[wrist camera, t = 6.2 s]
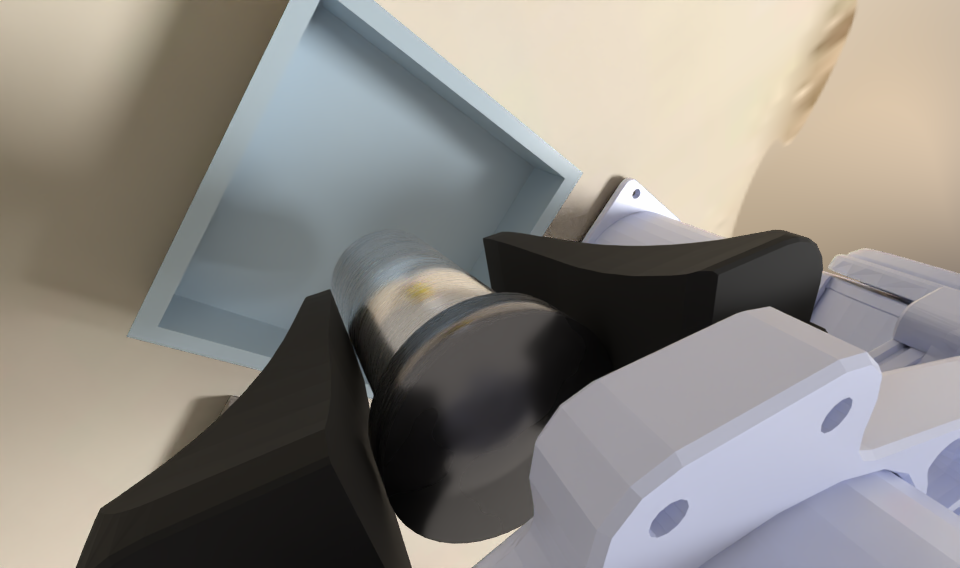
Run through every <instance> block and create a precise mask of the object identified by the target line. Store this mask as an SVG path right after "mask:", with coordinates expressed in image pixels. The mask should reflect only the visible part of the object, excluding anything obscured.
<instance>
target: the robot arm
mask: <svg viewBox="0 0 960 568" xmlns="http://www.w3.org/2000/svg"><path fill="white" fill-rule="evenodd" d="M634 190H635V194H634V195H633V196H632V194H633V191H634ZM483 243H484V249H485V255H486V260H487V266H488V272H489V278H490V284H491V289H492V290H494V291H495V292H496V293H501V292H510V293H521V294H526V295H530V296H533V297H536V298H539V299H541V300H543V301H545V302H547V303H548V304H550V305H552V306H553V307H555V308H557V309H558V310H560V311H561V312H563V313H565V314H566V315H568V316H570V317H571V318H573V319H574V320H576V321H578V322H579V323H581V324H583V325H584V326H586V327H587V328H588V329H590V330H591V331H592V332H593V333H594V334H595V335H596V336H597V337H598V338H599V340H600V341H601V342H602V343H603V345H604V347H605V349H606V350H607V352H608V354H609V357H610V360H611V363H612V366H613V372H611V373H609V374H607V375H605V376H603V377H601V378H599V379H597V380H594V381H593V382H591V383H590V384H588V385H587V386H586V387H584V388H583V389H581V390H580V391H579V392H577V393H576V394H574V395H573V396H572V397H570V398H569V399H568V400H566V401H565V402H563V403H562V404H561V405H560V406H559V407H558V409H557V410H556V411H555V413H554V414H553V416H552V417H551V419H550V420H549V421H548V423H547V424H546V426H545V427H544V429H543V430H542V431H541V433H540V434H539V436H538V437H537V440H536V442H535V447H534V452H533V458H532V464H531V470H530V475H529V479H530V486H531V492H532V498H533V504H534V517H532V518H531V519H530V520H529V521H527V522H526V523H525V524H524V525H523V526H521V527H520V528H519V529H518V530H517V531H515V532H514V533H513V534H512V535H511V536H509V537H508V538H507V539H506V540H505V541H503V542H502V543H501V544H500V545H499V546H497V547H496V548H495V549H494V550H493V551H491V552H490V553H489V554H488V555H487V556H485V557H484V558H483V559H482V560H481V561H479V562H478V563H477V564H476V565H474V566H473V567H472V568H960V274H959V273H955V272H952V271H949V270H945V269H942V268H938V267H935V266H931V265H928V264H925V263H921V262H918V261H914V260H911V259H907V258H903V257H900V256H896V255H893V254H889V253H885V252H881V251H877V250H873V249H868V248H862V249H859V250H856V251H853V252H850V253H848V255H844V254H839V255H836V256H835V257H834V258H833V260H832V261H831V263H830V265H829V266H828V269H830V270H832V271H835V272H837V273H840V274H842V275H845V276H847V277H850V278H853V279H856V280H859V281H860V282H861V283H859V282H856V281H853V280H851V279H848V278H844V277H841V276H838V275H834V274H831V273H828V272H824V271H823V264H822V256H821V253H820V251H819V248H818V246H817V244H816V243H814V242H813V241H812V240H810V239H809V238H807V237H803V236H800V235H797V234H793V233H790V232H787V231H784V230H771V231H766V232H760V233H755V234H750V235H744V236H738V237H732V238H725V237H722V236H719V235H716V234H714V233H711V232H708V231H705V230H703V229H700V228H697V227H694V226H692V225H689V224H686V223H683V222H681V221H680V220H679V219H678V218H677V217H676V216H675V215H674V214H673V213H672V212H670V211H669V210H668V209H667V208H666V207H665V206H664V205H663V204H662V203H660V202H659V201H658V200H657V199H656V198H655V197H654V196H653V195H652V194H651V193H649V192H648V191H647V190H646V189H645V188H644V187H643V186H642V185H641V184H640V183H638V182H637V181H636V180H634V179H631V178H626V179H624V180H623V181H622V182H621V183H620V184H619V186H618V188H617V189H616V191H615V192H614V194H613V195H612V197H611V198H610V200H609V201H608V203H607V204H606V206H605V207H604V209H603V210H602V212H601V213H600V215H599V216H598V218H597V219H596V221H595V222H594V224H593V225H592V227H591V228H590V230H589V231H588V233H587V234H586V236H585V237H584V239H583V240H582V242H574V241H567V240H560V239H554V238H548V237H542V236H536V235H530V234H524V233H517V232H500V233H497V234H494V235H491V236H488V237H485V238H483ZM862 283H863V284H862ZM865 284H866V285H865ZM369 414H370V408H369V402H368V397H367V391H366V386H365V381H364V378H363V375H362V372H361V369H360V366H359V363H358V360H357V356H356V353H355V351H354V348H353V346H352V343H351V341H350V338H349V335H348V333H347V330H346V328H345V325H344V323H343V320H342V318H341V315H340V313H339V310H338V307H337V305H336V302H335V300H334V297H333V295H332V292H331V290H330V289H328V290H325V291H322V292H319V293H316V294H313V295H310V296H307V297H306V298H305V299H304V301H303V303H302V305H301V307H300V309H299V311H298V313H297V315H296V317H295V319H294V321H293V323H292V325H291V327H290V329H289V331H288V332H287V334H286V336H285V338H284V340H283V341H282V343H281V344H280V346H279V347H278V349H277V350H276V352H275V354H274V355H273V357H272V358H271V360H270V361H269V363H268V364H267V365H266V367H265V368H264V369H263V370H262V372H261V373H260V374H259V376H258V377H257V378H256V379H255V380H254V381H253V383H252V384H251V385H250V386H249V387H248V389H247V390H246V391H245V392H244V393H243V394H242V395H241V396H240V397H239V398H238V399H237V400H236V401H235V402H234V403H233V404H232V405H231V406H230V407H229V408H228V409H227V410H226V411H225V412H224V413H223V414H222V415H221V416H220V417H219V418H218V419H217V420H216V421H215V422H214V423H213V424H212V425H211V426H209V427H208V428H207V429H206V430H205V431H204V432H203V433H201V434H200V435H199V436H198V437H197V438H196V439H194V440H193V441H192V442H191V443H190V444H188V445H187V446H186V447H185V448H183V449H182V450H181V451H180V452H178V453H177V454H176V455H175V456H174V457H172V458H171V459H170V460H168V461H167V462H166V463H164V464H163V465H162V466H160V467H159V468H158V469H156V470H155V471H153V472H152V473H151V474H149V475H148V476H146V477H145V478H144V479H142V480H141V481H139V482H138V483H137V484H135V485H134V486H132V487H131V488H129V489H128V490H127V491H125V492H124V493H122V494H121V495H120V496H118V497H117V498H115V499H114V500H112V501H111V502H109V503H108V504H106V505H105V506H103V507H102V508H100V510H99V512H98V515H97V517H96V519H95V521H94V524H93V526H92V529H91V531H90V533H89V536H88V538H87V540H86V543H85V545H84V548H83V551H82V553H81V556H80V558H79V561H78V563H77V566H76V568H412V567H411V564H410V560H409V557H408V554H407V551H406V548H405V544H404V541H403V538H402V535H401V531H400V528H399V525H398V522H397V518H396V515H395V512H394V510H393V508H392V507H391V505H390V503H389V500H388V497H387V494H386V491H385V488H384V486H383V483H382V480H381V477H380V474H379V471H378V468H377V465H376V462H375V460H374V457H373V454H372V451H371V447H370V441H369V428H368V420H369Z"/></svg>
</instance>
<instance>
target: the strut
mask: <svg viewBox="0 0 960 568" xmlns="http://www.w3.org/2000/svg"><path fill="white" fill-rule="evenodd" d="M331 290H332V295H333V297H334V300H335V302H336V305H337V307H338V310H339V313H340V315H341V318H342V320H343V323H344V325H345V328H346V330H347V333H348V335H349V338H350V341H351V343H352V345H353V348H354V350H355V352H356V355H357V357H358V359H359V362H360V364H361V366H362V369H363V371H364V374H365V376H366V378H367V381H368V383H369V385H370V388H371V390H372V392H373V395H374V396H373V399H372V403H371V407H370V414H369V420H368V428H369V441H370V447H371V451H372V454H373V457H374V460H375V462H376V465H377V468H378V471H379V474H380V477H381V480H382V483H383V486H384V488H385V491H386V494H387V497H388V500H389V503H390V505H391V507H392V508H393V510H394V512H395V513H396V515H397V517H398V518H399V519H400V520H401V521H402V522H403V523H404V524H405V525H406V526H407V527H408V528H410V529H411V530H412V531H414V532H415V533H417V534H419V535H421V536H423V537H425V538H427V539H431V540H435V541H438V542H445V543H471V542H478V541H483V540H486V539H490V538H494V537H497V536H499V535H502V534H505V533H508V532H510V531H512V530H514V529H516V528H518V527H520V526H522V525H524V524H525V523H526V522H527V521H529V520H530V519H531V518H532V517H534V504H533V498H532V492H531V486H530V479H529V475H530V470H531V464H532V458H533V452H534V447H535V442H536V440H537V437H538V436H539V434H540V433H541V431H542V430H543V429H544V427H545V426H546V424H547V423H548V421H549V420H550V419H551V417H552V416H553V414H554V413H555V411H556V410H557V409H558V407H559V406H560V405H561V404H562V403H563V402H565V401H566V400H568V399H569V398H570V397H572V396H573V395H574V394H576V393H577V392H579V391H580V390H581V389H583V388H584V387H586V386H587V385H588V384H590V383H591V382H593V381H594V380H597V379H599V378H601V377H603V376H605V375H607V374H609V373H611V372H613V366H612V363H611V360H610V357H609V354H608V352H607V350H606V349H605V347H604V345H603V343H602V342H601V341H600V340H599V338H598V337H597V336H596V335H595V334H594V333H593V332H592V331H591V330H590V329H588V328H587V327H586V326H584V325H583V324H581V323H579V322H578V321H576V320H574V319H573V318H571V317H570V316H568V315H566V314H565V313H563V312H561V311H560V310H558V309H557V308H555V307H553V306H552V305H550V304H548V303H547V302H545V301H543V300H541V299H539V298H536V297H533V296H530V295H526V294H521V293H510V292H501V293H496V292H495V291H494V290H492V289H491V288H489V287H488V286H486V285H485V284H484V283H482V282H481V281H479V280H478V279H477V278H475V277H474V276H472V275H471V274H469V273H468V272H467V271H465V270H464V269H462V268H461V267H460V266H458V265H457V264H455V263H454V262H452V261H451V260H450V259H448V258H447V257H445V256H444V255H443V254H441V253H440V252H438V251H437V250H435V249H434V248H433V247H431V246H430V245H428V244H427V243H426V242H424V241H423V240H421V239H420V238H418V237H417V236H415V235H413V234H411V233H408V232H405V231H401V230H394V229H385V230H379V231H375V232H371V233H369V234H366V235H364V236H362V237H360V238H359V239H357V240H356V241H354V242H353V243H352V244H351V245H350V246H349V247H348V248H347V249H346V250H345V251H344V252H343V253H342V255H341V256H340V258H339V259H338V261H337V263H336V266H335V268H334V271H333V275H332V282H331Z"/></svg>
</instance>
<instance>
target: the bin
mask: <svg viewBox="0 0 960 568" xmlns="http://www.w3.org/2000/svg"><path fill="white" fill-rule="evenodd" d="M582 174H583V172H581V171H580V170H579V169H578V168H577V167H575V166H574V165H573V164H572V163H571V162H569V161H568V160H567V159H566V158H564V157H563V156H562V155H561V154H560V153H558V152H557V151H556V150H555V149H554V148H552V147H551V146H550V145H549V144H547V143H546V142H545V141H544V140H543V139H541V138H540V137H539V136H538V135H537V134H535V133H534V132H533V131H532V130H530V129H529V128H528V127H527V126H526V125H524V124H523V123H522V122H521V121H520V120H518V119H517V118H516V117H515V116H513V115H512V114H511V113H510V112H509V111H507V110H506V109H505V108H504V107H503V106H501V105H500V104H499V103H498V102H496V101H495V100H494V99H493V98H492V97H490V96H489V95H488V94H487V93H486V92H484V91H483V90H482V89H481V88H479V87H478V86H477V85H476V84H475V83H473V82H472V81H471V80H470V79H469V78H467V77H466V76H465V75H464V74H462V73H461V72H460V71H459V70H458V69H456V68H455V67H454V66H453V65H452V64H450V63H449V62H448V61H447V60H445V59H444V58H443V57H442V56H441V55H439V54H438V53H437V52H436V51H435V50H433V49H432V48H431V47H430V46H428V45H427V44H426V43H425V42H424V41H422V40H421V39H420V38H419V37H418V36H416V35H415V34H414V33H413V32H411V31H410V30H409V29H408V28H407V27H405V26H404V25H403V24H402V23H401V22H399V21H398V20H397V19H396V18H394V17H393V16H392V15H391V14H390V13H388V12H387V11H386V10H385V9H384V8H382V7H381V6H380V5H379V4H377V3H376V2H375V1H374V0H290V1H289V3H288V5H287V7H286V9H285V11H284V13H283V15H282V17H281V19H280V21H279V24H278V26H277V28H276V30H275V32H274V34H273V36H272V38H271V40H270V42H269V44H268V46H267V48H266V50H265V52H264V54H263V57H262V59H261V61H260V63H259V65H258V67H257V69H256V71H255V73H254V75H253V77H252V79H251V81H250V83H249V85H248V87H247V90H246V92H245V94H244V96H243V98H242V100H241V102H240V104H239V106H238V108H237V110H236V112H235V114H234V116H233V118H232V120H231V122H230V125H229V127H228V129H227V131H226V133H225V135H224V137H223V139H222V141H221V143H220V145H219V147H218V149H217V151H216V153H215V155H214V158H213V160H212V162H211V164H210V166H209V168H208V170H207V172H206V174H205V176H204V178H203V180H202V182H201V184H200V186H199V188H198V190H197V193H196V195H195V197H194V199H193V201H192V203H191V205H190V207H189V209H188V211H187V213H186V215H185V217H184V219H183V221H182V223H181V226H180V228H179V230H178V232H177V234H176V236H175V238H174V240H173V242H172V244H171V246H170V248H169V250H168V252H167V254H166V256H165V259H164V261H163V263H162V265H161V267H160V269H159V271H158V273H157V275H156V277H155V279H154V281H153V283H152V285H151V287H150V289H149V291H148V294H147V296H146V298H145V300H144V302H143V304H142V306H141V308H140V310H139V312H138V314H137V316H136V318H135V320H134V322H133V324H132V327H131V329H130V331H129V333H128V335H127V337H130V338H134V339H138V340H142V341H145V342H149V343H153V344H157V345H161V346H165V347H169V348H173V349H177V350H181V351H185V352H189V353H193V354H197V355H201V356H205V357H209V358H213V359H217V360H221V361H225V362H228V363H232V364H236V365H240V366H244V367H248V368H252V369H256V370H260V371H262V370H263V369H264V368H265V367H266V365H267V364H268V363H269V361H270V360H271V358H272V357H273V355H274V354H275V352H276V350H277V349H278V347H279V346H280V344H281V343H282V341H283V340H284V338H285V336H286V334H287V332H288V331H289V329H290V327H291V325H292V323H293V321H294V319H295V317H296V315H297V313H298V311H299V309H300V307H301V305H302V303H303V301H304V299H305V298H306V297H307V296H310V295H313V294H316V293H319V292H322V291H325V290H328V289H330V290H331V282H332V275H333V271H334V268H335V266H336V263H337V261H338V259H339V258H340V256H341V255H342V253H343V252H344V251H345V250H346V249H347V248H348V247H349V246H350V245H351V244H352V243H353V242H354V241H356V240H357V239H359V238H360V237H362V236H364V235H366V234H369V233H371V232H375V231H379V230H385V229H394V230H401V231H405V232H408V233H411V234H413V235H415V236H417V237H418V238H420V239H421V240H423V241H424V242H426V243H427V244H428V245H430V246H431V247H433V248H434V249H435V250H437V251H438V252H440V253H441V254H443V255H444V256H445V257H447V258H448V259H450V260H451V261H452V262H454V263H455V264H457V265H458V266H460V267H461V268H462V269H464V270H465V271H467V272H468V273H469V274H471V275H472V276H474V277H475V278H477V279H478V280H479V281H481V282H482V283H484V284H485V285H486V286H488V287H489V288H491V284H490V278H489V272H488V266H487V260H486V255H485V249H484V243H483V238H485V237H488V236H491V235H494V234H497V233H500V232H517V233H524V234H530V235H536V236H543V235H544V233H545V232H546V230H547V228H548V227H549V225H550V224H551V222H552V221H553V219H554V218H555V216H556V214H557V213H558V211H559V210H560V208H561V207H562V205H563V204H564V202H565V200H566V199H567V197H568V196H569V194H570V193H571V191H572V190H573V188H574V186H575V185H576V183H577V182H578V180H579V179H580V177H581V176H582ZM331 292H332V290H331ZM352 346H353V345H352ZM354 351H355V350H354ZM355 353H356V352H355ZM356 356H357V355H356ZM357 360H358V363H359V366H360V369H361V372H362V375H363V378H364V381H365V386H366V391H367V397H368V398H371V399H373V396H374V395H373V392H372V390H371V388H370V385H369V383H368V381H367V378H366V376H365V374H364V371H363V369H362V366H361V364H360V362H359V359H358V357H357Z"/></svg>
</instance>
